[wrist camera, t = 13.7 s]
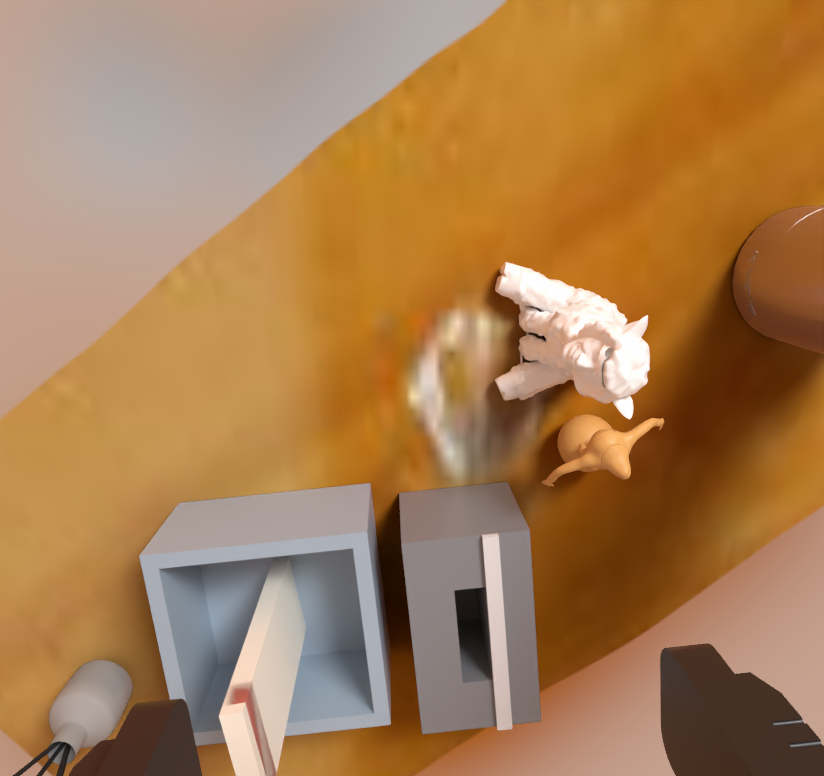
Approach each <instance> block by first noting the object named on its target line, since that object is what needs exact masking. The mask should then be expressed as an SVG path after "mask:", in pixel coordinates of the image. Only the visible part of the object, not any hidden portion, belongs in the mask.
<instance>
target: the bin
mask: <svg viewBox="0 0 824 776" xmlns="http://www.w3.org/2000/svg"><path fill="white" fill-rule="evenodd" d="M285 557H289V559H290V563H291V567H292V572H293V576H294V580H295V584H296V588H297V592H298V596H299V600H300V604H301V608H302V613H303V617H304V621H305V625H306V632H305V637H304V642H303V647H302V652H301V656H300V661H299V666H298V671H297V676H296V681H295V686H294V691H293V696H292V701H291V706H290V711H289V715H288V720H287V725H286V730H285V735H284V736H292V735H302V734H311V733H320V732H329V731H339V730H348V729H357V728H366V727H376V726H385V725H391V659H390V642H389V634H388V625H387V617H386V609H385V600H384V592H383V584H382V575H381V567H380V559H379V550H378V542H377V533H376V525H375V517H374V508H373V500H372V492H371V483H366V484H357V485H347V486H338V487H328V488H318V489H309V490H299V491H289V492H280V493H270V494H261V495H251V496H241V497H232V498H222V499H213V500H203V501H193V502H184V503H179V504H178V505H177V506H176V508H175V509H174V510H173V512H172V513H171V514H170V516H169V517H168V518H167V520H166V521H165V522H164V524H163V525H162V526H161V528H160V529H159V530H158V532H157V533H156V534H155V536H154V537H153V538H152V540H151V541H150V542H149V544H148V545H147V546H146V548H145V549H144V550H143V551H142V553H141V554H140V555H139V558H140V562H141V567H142V572H143V576H144V581H145V586H146V590H147V595H148V599H149V604H150V609H151V613H152V618H153V623H154V627H155V632H156V637H157V641H158V646H159V651H160V655H161V660H162V665H163V669H164V674H165V679H166V683H167V688H168V693H169V697H170V700H172V699H183V700H185V702H186V704H187V706H188V710H189V715H190V719H191V724H192V729H193V734H194V739H195V743H196V746H200V745H209V744H218V743H226V740H225V736H224V733H223V729H222V726H221V722H220V719H219V714H220V711H221V708H222V705H223V702H224V699H225V697H226V694H227V691H228V688H229V685H230V682H231V679H232V676H233V673H234V671H235V668H236V665H237V662H238V659H239V656H240V653H241V650H242V647H243V644H244V642H245V639H246V636H247V633H248V630H249V627H250V624H251V621H252V618H253V616H254V613H255V610H256V607H257V604H258V601H259V598H260V595H261V592H262V589H263V587H264V584H265V581H266V578H267V575H268V572H269V569H270V566H271V563H272V560H274V559H279V558H285Z"/></svg>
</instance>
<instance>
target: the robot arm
mask: <svg viewBox="0 0 824 776" xmlns="http://www.w3.org/2000/svg"><path fill="white" fill-rule="evenodd" d="M733 293H734V298H735V301H736V305H737V308H738V310H739V312H740V313H741V315H742V317H743V318H744V320H745V321H746V322H747V323H748V324H749V325H750V326H751V327H752V328H753V329H754V330H756V331H757V332H759V333H760V334H762V335H764V336H766V337H769V338H772V339H775V340H778V341H782V342H785V343H788V344H792V345H795V346H798V347H801V348H804V349H808V350H811V351H814V352H818V353H821V354H824V206H807V207H795V208H792V209H789V210H785V211H782V212H780V213H778V214H776V215H774V216H773V217H771V218H769V219H767V220H766V221H765V222H764V223H762V224H761V225H760V226H759V227H758V228H756V229H755V231H754V232H753V233H752V234H751V235H750V237H749V238H748V239H747V240H746V242H745V244H744V245H743V247H742V249H741V251H740V253H739V255H738V258H737V261H736V264H735V267H734V274H733ZM660 663H661V664H660V666H661V669H660V670H661V731H662V738H663V742H664V747H665V750H666V754H667V756H668V760H669V762H670V765H671V767H672V769H673V771H674V773H675V775H676V776H824V746H823V745H822V744H821V740H820V739H819V737H818V736H817V735H816V734H815V733H814V732H813V730H812V729H811V728H810V727H809V726H808V725H807V724H804V722H803V720H802V718H801V716H800V715H799V714H798V713H797V711H796V710H795V709H794V708H793V707H792V705H790V703H789V702H788V701H787V699H786V698H785V697H784V696H783V695H782V693H780V692H779V691H777V690H776V689H774V688H773V687H771V686H770V685H768V684H767V683H765V682H764V681H762V680H761V679H759V678H758V677H756V676H755V675H753V674H752V673H750V672H749V673H740V674H734V673H733V671H732V670H731V669H730V667H729V666H728V665H727V664H726V662H725V661H724V660H723V658H722V657H721V656H720V654H719V653H718V652H717V651H716V650H715V648H714V647H713V646H712V645H710V644H699V645H689V646H680V647H671V648H664V649H663V650H662V653H661V659H660ZM69 776H202V773H201V767H200V763H199V758H198V753H197V748H196V743H195V739H194V734H193V729H192V724H191V719H190V715H189V710H188V706H187V704H186V702H185V700H183V699H172V700H163V701H154V702H145V703H137V704H135V705H134V706H133V707H132V709H131V711H130V712H129V714H128V716H127V718H126V720H125V722H124V724H123V726H122V727H121V729H120V731H119V733H118V735H117V737H116V739H113V740H104V741H100V742H99V743H98V744H97V745H96V746H95V747H94V748H93V749H92V750H91V751H90V752H89V753H88V754H87V755H86V756H85V757H84V758H83V759H82V760H81V761H80V762H78V763H77V764H76V765H75V766H74V767H73V769H72V771H71V772H70V774H69Z"/></svg>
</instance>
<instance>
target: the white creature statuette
mask: <svg viewBox="0 0 824 776" xmlns="http://www.w3.org/2000/svg"><path fill="white" fill-rule="evenodd" d="M500 274H502V275H501V276H499V277H498V278H497V282H496V286H495V291H496V292H497V293H499V294H500V295H501V296H505V297H508V298H509V299H512V300H513V301H514V303H515V304H519V308H520V314H519V325H520V327H521V328H522V329H523V330H524V331H525V332H526V336H523V337H521V338H520V339H519V342H520V346H518V349H519V351H520V364H518V365H517V366H513V367H512V368H511V370H510V372H508V373H506V374H503V375H501V376H500V377H498V378H496V379H495V382H496V384H497V386H498V389H499V391H500V393H501V395H502V397H503V399H504V400H505V401H506V400H512V399H515V398H519V399H520V400H525V399H527V398H529V397H532V396H534V395H535V394H536V393H538V392H541V391H544V390H545V389H546V388H551V387H553V386H555V385H557V384H564V383H565V382H566V381H567V380H573V381H574V384H575V388H576V390H577V391H578V392H579V393H580V394H581V395H582V396H587V397H593V398H594V399H596V400H598V401H599V402H602V403H605V404H606V403H610V402H612V401H613V403H614V404H615V406H616V407H617V409H618V410H619V412H620V413H621V414H622V415H623V416H624V417H626V418H628V419H631V417H632V415H633V400H632V398H631V396H630V395H632V394H635V393H636V392H637V391H638V390H639V389H640V388H641V387H643V386H645V385H646V384H647V382H648V379H647V373H648V371H649V370H650V368H649V365H650V353H649V346H648V344H647V343H646V342H645V341H644V340H643V339H642V338H641V337H642V336H643V334H644V332H645V330H646V328H647V325H648V315H646V316H644V317H643V318H642V319H640V320H639V321H635V322H632V323H629V324H627V325H625V324H626V322H627V319H626V318H625V315H624V314H621V313H620V312H619V311H618V310H617V306H616V305H615V303H610V302H609V301H608V300H607V299H605V298H601V296H599V295H596V294H595V293H594V292H590V291H589V290H588V291H585V290H583V289H581V288H578V289H575V288H574V287H573V286H568V285H566V284H565V283H563V282H562V281H559V280H550V279H547V278H546V277H545V276H544V275H542V274H540V273H539V272H535V271H533V270H532V269H529V268H524V267H521V266H518V265H515V264H512V263H507V262H505V263H504V264H503V265H502V267H501V269H500ZM531 306H534V307H537V308H538V309H539V310H540V311H541V312H540V311H539V310H538V309H536V308H534V307H531ZM529 332H531V333H536V334H538V335H539V336H544V337H545V338H546V341H545V340H543V339H539V338H537V337H536V336H534V335H529ZM522 355H523V356H524V358H525V359H526V360H530V361H532V362H530V363H528V362H524V363H523V359H522Z"/></svg>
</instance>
